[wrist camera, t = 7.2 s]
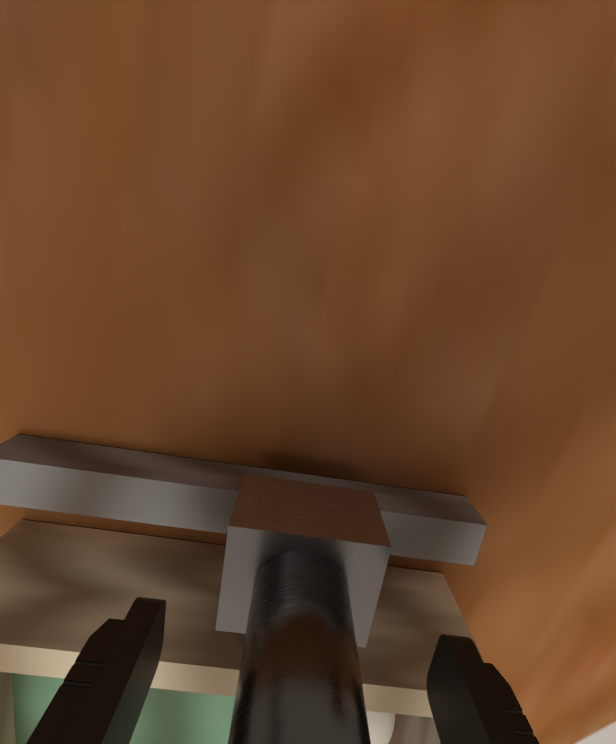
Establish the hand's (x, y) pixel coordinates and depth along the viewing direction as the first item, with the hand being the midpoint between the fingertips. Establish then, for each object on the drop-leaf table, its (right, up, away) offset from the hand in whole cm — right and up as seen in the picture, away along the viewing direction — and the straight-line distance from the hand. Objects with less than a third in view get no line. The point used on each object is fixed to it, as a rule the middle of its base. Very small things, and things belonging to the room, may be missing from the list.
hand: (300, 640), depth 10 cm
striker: (-1, -3, +6) cm, 6 cm away
